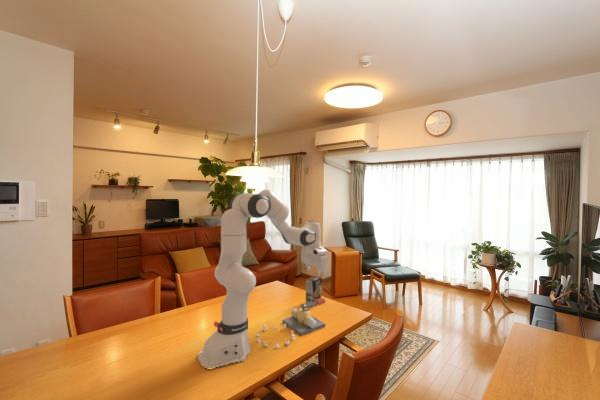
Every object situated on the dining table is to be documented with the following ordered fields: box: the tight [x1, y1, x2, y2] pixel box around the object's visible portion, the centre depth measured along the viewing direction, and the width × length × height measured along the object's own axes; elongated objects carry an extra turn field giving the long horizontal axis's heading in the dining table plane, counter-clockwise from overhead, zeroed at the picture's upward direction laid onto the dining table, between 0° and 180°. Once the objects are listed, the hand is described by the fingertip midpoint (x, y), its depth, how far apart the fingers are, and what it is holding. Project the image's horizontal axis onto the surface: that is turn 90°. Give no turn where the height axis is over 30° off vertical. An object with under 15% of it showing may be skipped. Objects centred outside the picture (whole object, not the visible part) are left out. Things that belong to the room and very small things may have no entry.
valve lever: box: [300, 297, 326, 309], centre depth 151 cm, size 15×3×2 cm, turn 126°
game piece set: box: [255, 323, 296, 349], centre depth 135 cm, size 19×20×4 cm
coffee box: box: [305, 276, 322, 307], centre depth 175 cm, size 9×6×16 cm
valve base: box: [282, 307, 326, 336], centre depth 148 cm, size 16×17×9 cm
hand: (313, 272), depth 158 cm, fingers open, 8 cm apart
